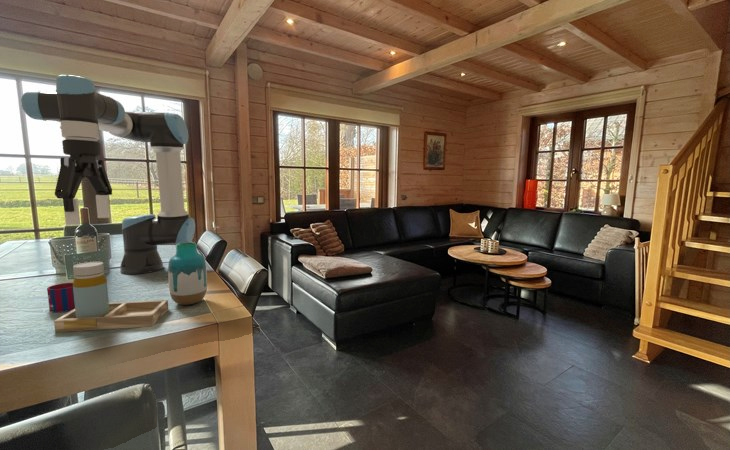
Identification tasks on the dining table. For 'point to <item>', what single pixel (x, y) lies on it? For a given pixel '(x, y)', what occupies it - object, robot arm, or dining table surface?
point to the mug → (61, 297)
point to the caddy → (116, 317)
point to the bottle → (90, 290)
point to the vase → (187, 274)
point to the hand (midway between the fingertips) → (89, 221)
